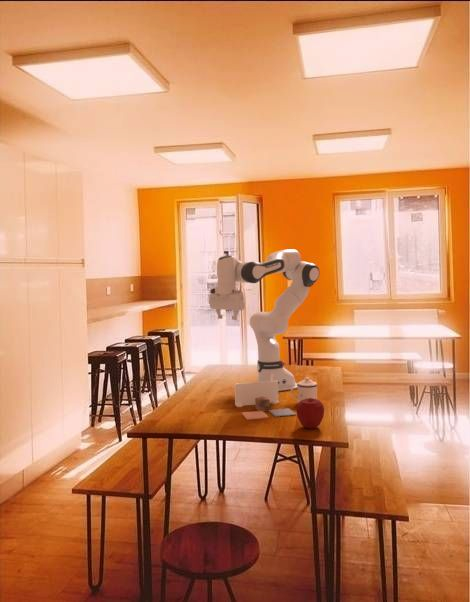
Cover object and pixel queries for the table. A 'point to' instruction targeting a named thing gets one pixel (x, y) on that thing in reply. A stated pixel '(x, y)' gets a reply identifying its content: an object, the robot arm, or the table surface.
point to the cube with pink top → (262, 403)
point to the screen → (255, 392)
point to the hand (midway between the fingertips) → (227, 319)
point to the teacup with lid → (306, 390)
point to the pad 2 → (282, 412)
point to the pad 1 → (254, 415)
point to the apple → (310, 412)
